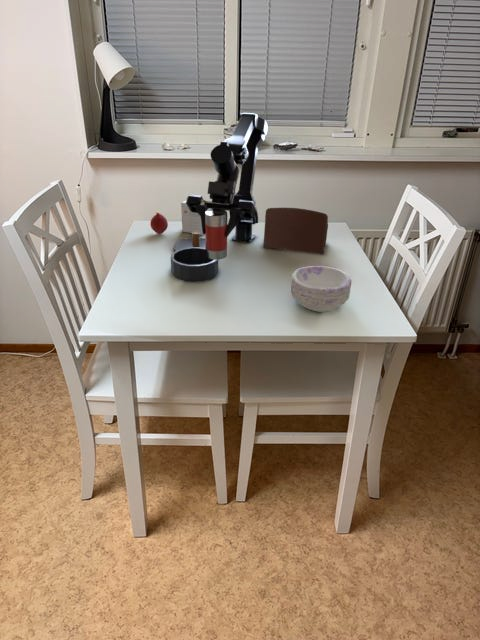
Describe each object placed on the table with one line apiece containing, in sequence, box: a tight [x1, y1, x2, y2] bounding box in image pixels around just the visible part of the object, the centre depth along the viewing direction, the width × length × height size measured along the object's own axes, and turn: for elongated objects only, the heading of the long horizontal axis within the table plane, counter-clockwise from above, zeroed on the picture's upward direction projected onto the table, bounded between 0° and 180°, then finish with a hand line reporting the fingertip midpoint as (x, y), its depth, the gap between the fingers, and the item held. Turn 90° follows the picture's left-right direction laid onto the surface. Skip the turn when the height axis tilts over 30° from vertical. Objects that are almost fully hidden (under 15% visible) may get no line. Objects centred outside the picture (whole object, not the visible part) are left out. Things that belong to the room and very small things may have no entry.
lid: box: [173, 232, 205, 252], centre depth 157 cm, size 15×15×6 cm
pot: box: [170, 247, 219, 283], centre depth 142 cm, size 14×14×5 cm
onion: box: [149, 211, 169, 235], centre depth 167 cm, size 6×6×8 cm
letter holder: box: [263, 207, 329, 255], centre depth 160 cm, size 10×20×14 cm, turn 76°
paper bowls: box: [290, 265, 352, 313], centre depth 127 cm, size 15×15×8 cm
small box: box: [180, 199, 210, 236], centre depth 170 cm, size 8×6×10 cm
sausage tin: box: [204, 209, 228, 261], centre depth 134 cm, size 6×6×12 cm
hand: (214, 235), depth 133 cm, fingers closed on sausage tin, 6 cm apart
